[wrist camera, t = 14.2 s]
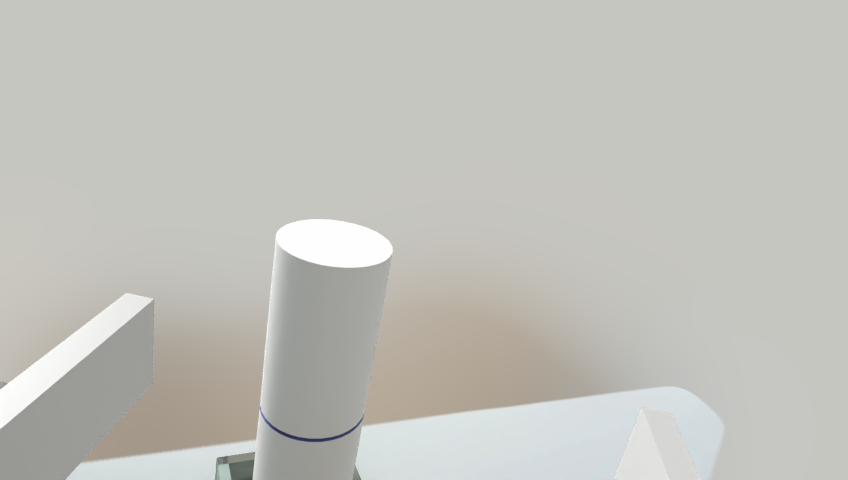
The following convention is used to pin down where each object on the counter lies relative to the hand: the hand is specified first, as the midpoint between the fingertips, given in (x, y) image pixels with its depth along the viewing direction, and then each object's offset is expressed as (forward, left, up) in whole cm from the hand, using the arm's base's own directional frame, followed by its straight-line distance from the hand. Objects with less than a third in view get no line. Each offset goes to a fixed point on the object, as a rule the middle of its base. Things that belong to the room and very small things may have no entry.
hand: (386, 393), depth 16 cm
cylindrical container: (-14, +16, -30) cm, 37 cm away
